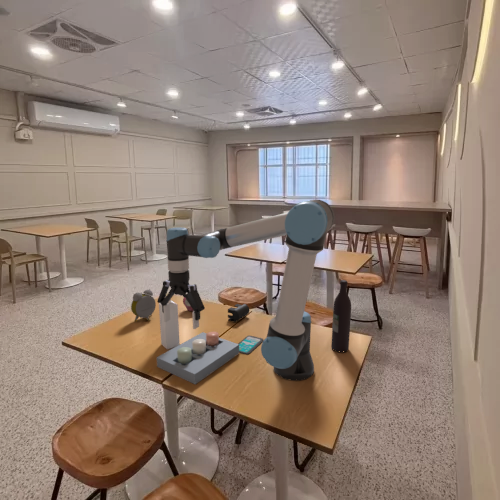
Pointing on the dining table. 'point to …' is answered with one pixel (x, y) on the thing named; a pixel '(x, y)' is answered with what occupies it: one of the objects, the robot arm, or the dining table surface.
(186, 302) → the apple
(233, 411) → the dining table surface
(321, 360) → the dining table surface
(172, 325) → the milk
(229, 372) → the dining table surface
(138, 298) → the alarm clock
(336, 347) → the wine bottle
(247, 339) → the smartphone
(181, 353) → the button sage
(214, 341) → the button terracotta
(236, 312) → the end cap
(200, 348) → the button cream
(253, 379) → the dining table surface
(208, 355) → the console
